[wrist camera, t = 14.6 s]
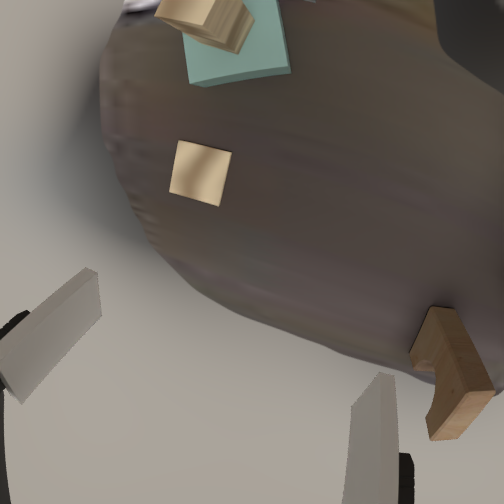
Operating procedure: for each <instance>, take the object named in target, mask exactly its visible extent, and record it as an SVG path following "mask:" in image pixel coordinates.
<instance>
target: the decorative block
mask: <svg viewBox="0 0 504 504" xmlns="http://www.w3.org/2000/svg"><path fill="white" fill-rule="evenodd" d="M409 354H410V358H411V361H412V365H413V369H414V370H415V371H435V375H436V384H435V394H434V398H433V402H432V406H431V408H430V410H429V412H428V414H427V416H426V423H427V428H428V433H429V438H430V440H431V441H439V440H451V439H458V438H459V436H460V435H461V434H462V433H463V432H464V431H465V430H466V429H467V428H468V426H469V425H470V424H471V423H472V422H473V421H474V419H475V418H476V417H477V416H478V415H479V413H480V412H481V411H482V410H483V408H484V407H485V406H486V405H487V403H488V402H489V401H490V400H491V398H492V397H493V396H494V394H495V389H494V387H493V384H492V382H491V380H490V378H489V375H488V373H487V371H486V369H485V367H484V365H483V363H482V360H481V358H480V356H479V354H478V352H477V350H476V348H475V346H474V344H473V342H472V340H471V338H470V337H469V335H468V333H467V331H466V329H465V327H464V325H463V324H462V322H461V320H460V318H459V316H458V314H457V313H456V311H455V309H450V308H442V307H434V306H432V307H430V309H429V311H428V313H427V316H426V318H425V320H424V323H423V325H422V327H421V329H420V331H419V334H418V336H417V338H416V340H415V342H414V344H413V347H412V349H411V351H410V353H409Z"/></svg>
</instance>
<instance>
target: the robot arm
mask: <svg viewBox="0 0 504 504" xmlns="http://www.w3.org/2000/svg"><path fill="white" fill-rule="evenodd" d="M101 316H102V312H101V304H100V295H99V285H98V274H97V272H95V271H93V270H90V269H88V268H86V267H85V268H84V269H83V270H81V271H80V272H79V273H78V274H77V275H75V276H74V277H73V278H71V279H70V280H69V281H68V282H66V283H65V284H64V285H63V286H62V287H60V288H59V289H58V290H57V291H55V292H54V293H53V294H52V295H51V296H50V297H48V298H47V299H46V300H45V301H44V302H42V303H41V304H40V305H39V306H38V307H37V308H35V309H34V310H33V311H32V312H31V313H30V312H29V311H28V310H25V311H23V312H21V313H19V314H17V315H16V316H14V317H13V318H12V319H11V320H10V321H9V323H6V324H5V325H4V326H3V328H1V329H0V504H11V501H10V495H9V488H8V480H7V472H6V462H5V447H4V392H3V390H4V389H5V388H6V389H7V390H8V392H9V394H10V395H11V396H12V397H13V398H14V399H16V400H17V401H18V402H19V403H20V404H22V403H24V401H25V400H26V399H27V398H28V397H29V395H30V394H31V393H32V392H33V391H34V389H35V388H36V387H37V386H38V385H39V384H40V383H41V382H42V380H43V379H44V378H45V377H46V376H47V375H48V374H49V372H50V371H51V370H52V369H53V368H54V367H55V366H56V364H58V362H59V361H60V360H61V359H62V358H63V357H64V356H65V355H66V354H67V352H68V351H69V350H70V349H71V348H72V347H73V346H74V345H75V344H76V343H77V342H78V340H80V338H81V337H82V336H83V335H84V334H85V333H86V332H87V331H88V330H89V329H90V328H91V327H92V326H93V325H94V324H95V323H96V321H98V319H99V318H100V317H101ZM395 389H396V388H395V378H394V376H393V375H389V374H385V373H381V372H379V373H378V374H377V376H376V377H375V378H374V380H373V381H372V382H371V383H370V385H369V386H368V387H367V388H366V390H365V391H364V392H363V393H362V395H361V396H360V397H359V398H358V399H357V401H356V402H355V403H354V404H353V405H352V407H351V422H350V435H349V447H348V458H347V467H346V476H345V484H344V491H343V499H342V504H414V485H415V483H414V463H413V460H412V458H411V455H410V454H409V453H399V440H398V418H397V402H396V390H395Z"/></svg>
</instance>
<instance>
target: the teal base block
mask: <svg viewBox="0 0 504 504" xmlns="http://www.w3.org/2000/svg"><path fill="white" fill-rule="evenodd" d="M242 1H243V3H244V4H245V6H246V7H247V9H248V10H249V12H250V13H251V15H252V17H253V18H254V20H255V22H254V24H253V26H252V28H251V30H250V32H249V34H248V36H247V38H246V40H245V42H244V44H243V46H242V48H241V50H240V52H239V54H238V55H237V54H234V53H231V52H228V51H224V50H221V49H218V48H214V47H211V46H207V45H204V44H201V43H199V42H198V41H196V40H194V39H193V38H191V37H190V36H188V35H186V34H185V33H183V32H182V33H183V40H184V48H185V55H186V62H187V69H188V76H189V83H190V84H193V85H197V86H201V87H210V86H215V85H220V84H225V83H230V82H235V81H241V80H247V79H253V78H260V77H267V76H274V75H282V74H291V68H290V61H289V55H288V50H287V44H286V38H285V33H284V27H283V22H282V17H281V12H280V7H279V2H278V0H242Z"/></svg>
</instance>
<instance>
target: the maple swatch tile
mask: <svg viewBox="0 0 504 504" xmlns="http://www.w3.org/2000/svg"><path fill="white" fill-rule="evenodd" d="M231 155H232V152H228V151H224V150H220V149H216V148H212V147H208V146H204V145H200V144H196V143H191V142H187V141H182V140H179V141H178V146H177V151H176V157H175V162H174V168H173V173H172V179H171V185H170V191H169V192H171V193H175V194H178V195H182V196H185V197H189V198H192V199H196V200H199V201H203V202H206V203H210V204H213V205H216V206H219V205H220V202H221V198H222V193H223V189H224V185H225V180H226V176H227V172H228V168H229V164H230V159H231Z"/></svg>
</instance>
